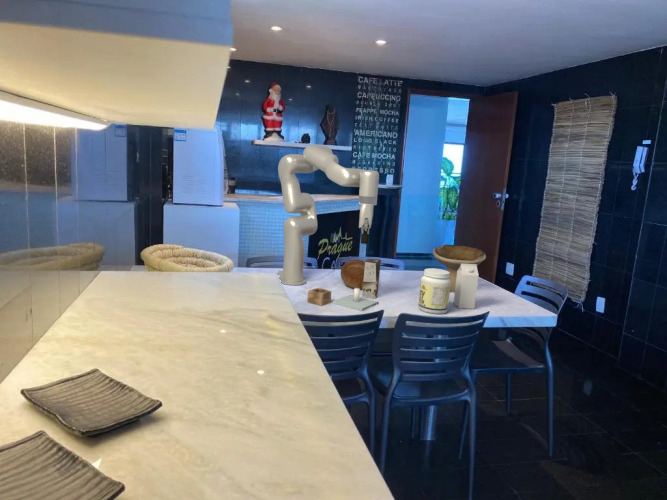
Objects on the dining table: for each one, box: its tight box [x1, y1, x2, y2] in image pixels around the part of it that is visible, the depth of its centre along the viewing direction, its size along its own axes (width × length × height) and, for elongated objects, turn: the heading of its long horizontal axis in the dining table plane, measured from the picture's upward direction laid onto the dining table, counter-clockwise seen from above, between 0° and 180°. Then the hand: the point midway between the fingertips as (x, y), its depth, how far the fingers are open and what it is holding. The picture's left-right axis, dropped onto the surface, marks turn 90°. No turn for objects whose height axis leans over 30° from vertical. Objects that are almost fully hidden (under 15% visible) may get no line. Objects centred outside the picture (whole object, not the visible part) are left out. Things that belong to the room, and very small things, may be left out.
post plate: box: [332, 288, 379, 312], centre depth 211 cm, size 14×14×6 cm
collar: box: [307, 287, 333, 307], centre depth 210 cm, size 7×7×5 cm
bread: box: [340, 259, 365, 291], centre depth 246 cm, size 16×29×11 cm, turn 5°
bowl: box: [432, 244, 487, 293], centre depth 248 cm, size 26×25×20 cm
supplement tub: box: [417, 267, 451, 315], centre depth 209 cm, size 12×12×17 cm
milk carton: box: [453, 264, 479, 310], centre depth 218 cm, size 7×7×19 cm
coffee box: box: [361, 258, 382, 300], centre depth 225 cm, size 9×6×16 cm
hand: (364, 241), depth 209 cm, fingers open, 9 cm apart
